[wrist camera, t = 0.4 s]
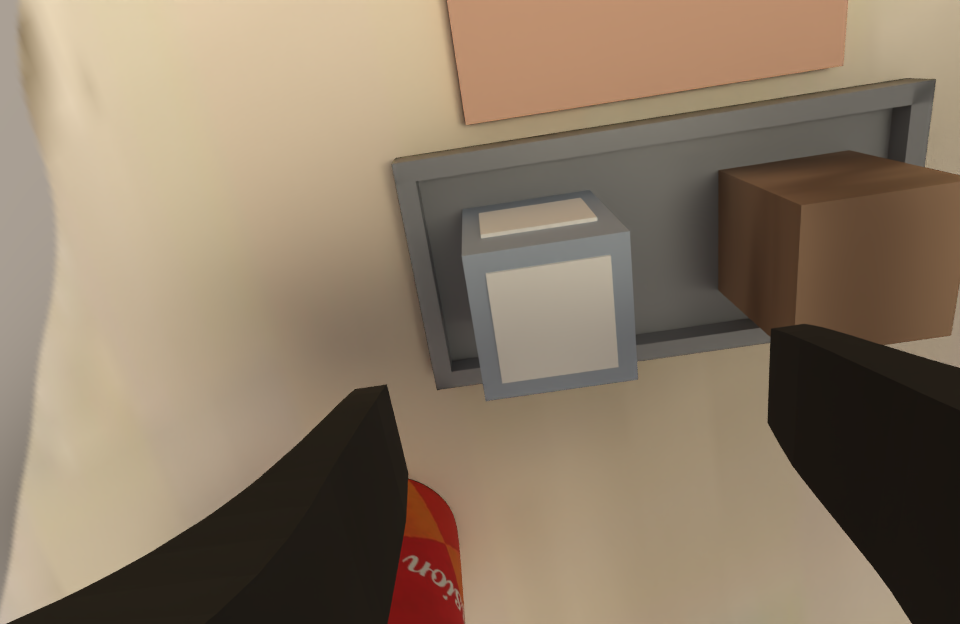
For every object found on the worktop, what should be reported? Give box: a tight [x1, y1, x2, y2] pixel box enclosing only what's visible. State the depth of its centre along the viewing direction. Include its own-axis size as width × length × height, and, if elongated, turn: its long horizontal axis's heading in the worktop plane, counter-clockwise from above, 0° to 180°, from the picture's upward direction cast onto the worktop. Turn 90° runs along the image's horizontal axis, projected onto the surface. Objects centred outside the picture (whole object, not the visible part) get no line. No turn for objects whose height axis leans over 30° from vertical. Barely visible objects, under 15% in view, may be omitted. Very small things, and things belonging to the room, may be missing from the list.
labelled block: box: [462, 190, 638, 401], centre depth 17 cm, size 4×4×5 cm
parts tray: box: [392, 78, 936, 390], centre depth 19 cm, size 16×8×1 cm, turn 98°
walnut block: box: [718, 150, 960, 345], centre depth 17 cm, size 4×4×5 cm
